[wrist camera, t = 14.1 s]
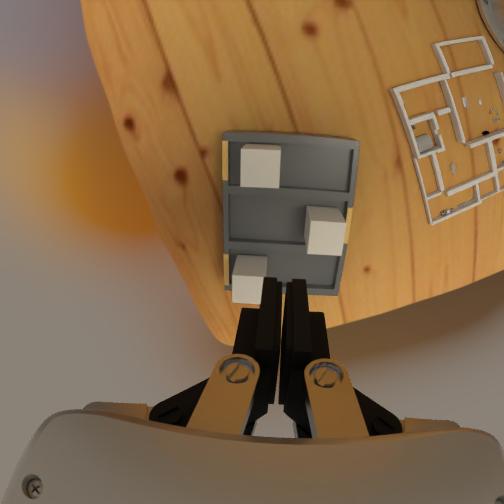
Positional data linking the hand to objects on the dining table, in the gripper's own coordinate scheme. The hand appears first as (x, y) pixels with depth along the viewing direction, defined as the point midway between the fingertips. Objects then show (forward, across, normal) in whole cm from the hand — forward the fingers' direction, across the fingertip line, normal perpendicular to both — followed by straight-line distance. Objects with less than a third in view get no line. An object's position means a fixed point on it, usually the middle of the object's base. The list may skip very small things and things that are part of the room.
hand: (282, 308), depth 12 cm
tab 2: (+17, +3, +8) cm, 19 cm away
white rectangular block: (+17, +2, -3) cm, 17 cm away
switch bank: (+20, 0, +3) cm, 20 cm away
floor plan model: (+21, -20, -12) cm, 31 cm away
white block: (+17, -4, +3) cm, 18 cm away
